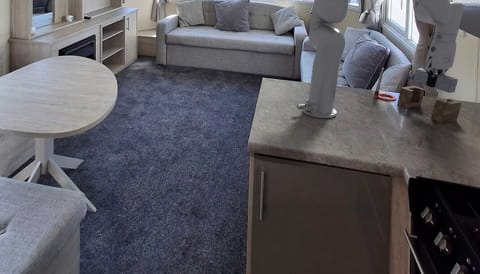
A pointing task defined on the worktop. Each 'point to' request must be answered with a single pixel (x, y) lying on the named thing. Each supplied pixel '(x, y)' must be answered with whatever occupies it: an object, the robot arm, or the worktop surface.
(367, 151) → the worktop surface
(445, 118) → the posts
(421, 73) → the rail
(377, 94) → the tow hook
